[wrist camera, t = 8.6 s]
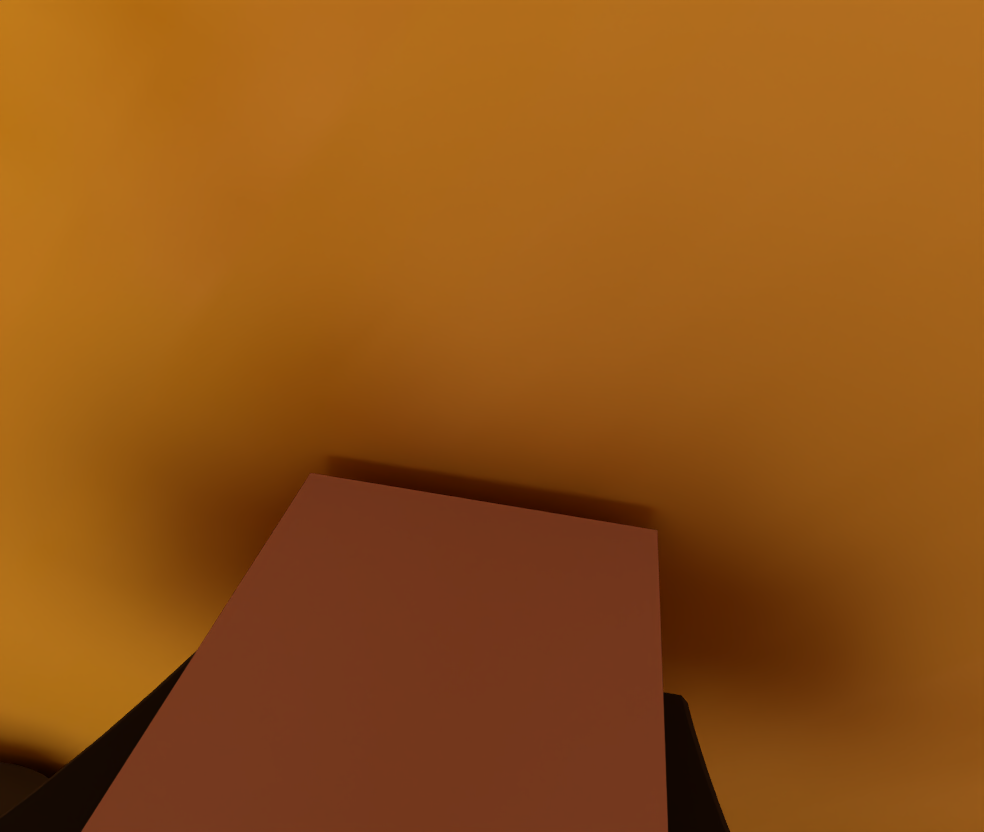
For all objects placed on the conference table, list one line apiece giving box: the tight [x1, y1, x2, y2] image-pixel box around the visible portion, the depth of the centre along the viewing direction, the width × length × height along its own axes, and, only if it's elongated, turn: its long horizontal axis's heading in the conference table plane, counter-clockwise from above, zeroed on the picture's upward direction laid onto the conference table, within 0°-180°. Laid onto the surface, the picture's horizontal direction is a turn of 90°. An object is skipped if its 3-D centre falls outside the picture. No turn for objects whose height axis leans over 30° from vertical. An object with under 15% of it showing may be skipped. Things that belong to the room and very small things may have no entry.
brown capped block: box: [81, 473, 668, 832], centre depth 9 cm, size 5×5×6 cm
